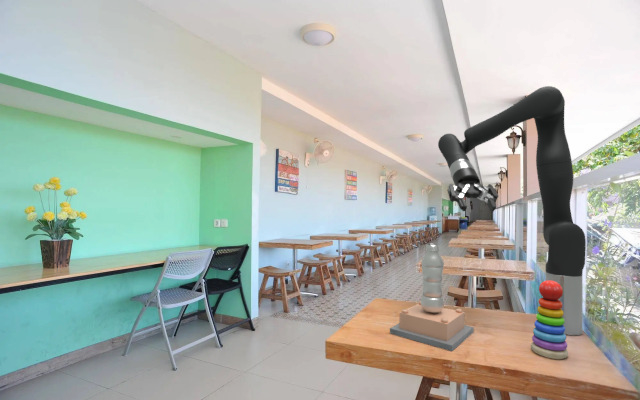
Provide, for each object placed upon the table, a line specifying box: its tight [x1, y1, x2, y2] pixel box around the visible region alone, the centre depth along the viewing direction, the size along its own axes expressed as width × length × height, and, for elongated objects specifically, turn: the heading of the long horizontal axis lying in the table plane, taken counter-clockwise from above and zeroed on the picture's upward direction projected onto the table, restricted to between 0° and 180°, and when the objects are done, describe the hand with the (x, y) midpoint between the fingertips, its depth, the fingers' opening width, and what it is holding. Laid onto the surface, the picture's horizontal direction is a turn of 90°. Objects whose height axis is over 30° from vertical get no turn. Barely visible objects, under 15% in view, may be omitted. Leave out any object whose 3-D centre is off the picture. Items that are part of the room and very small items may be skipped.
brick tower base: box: [389, 300, 475, 352], centre depth 100 cm, size 18×18×7 cm
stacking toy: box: [530, 280, 569, 360], centre depth 87 cm, size 8×8×19 cm
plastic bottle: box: [420, 243, 445, 313], centre depth 101 cm, size 6×7×20 cm
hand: (479, 209), depth 102 cm, fingers open, 8 cm apart
